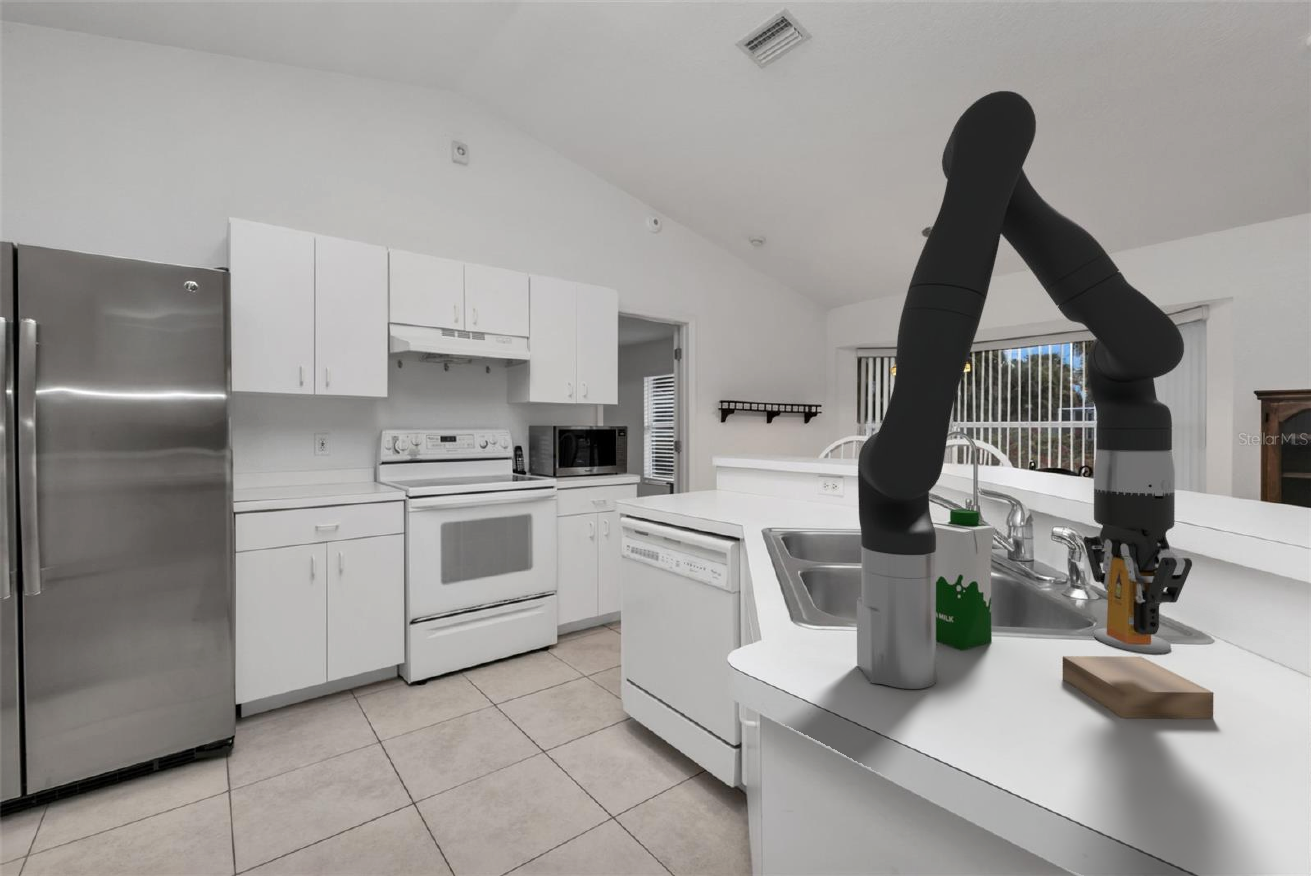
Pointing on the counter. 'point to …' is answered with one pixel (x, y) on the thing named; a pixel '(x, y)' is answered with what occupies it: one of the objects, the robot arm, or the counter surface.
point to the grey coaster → (1155, 647)
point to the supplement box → (1123, 606)
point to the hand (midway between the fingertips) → (1132, 626)
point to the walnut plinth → (1137, 687)
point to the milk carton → (963, 580)
